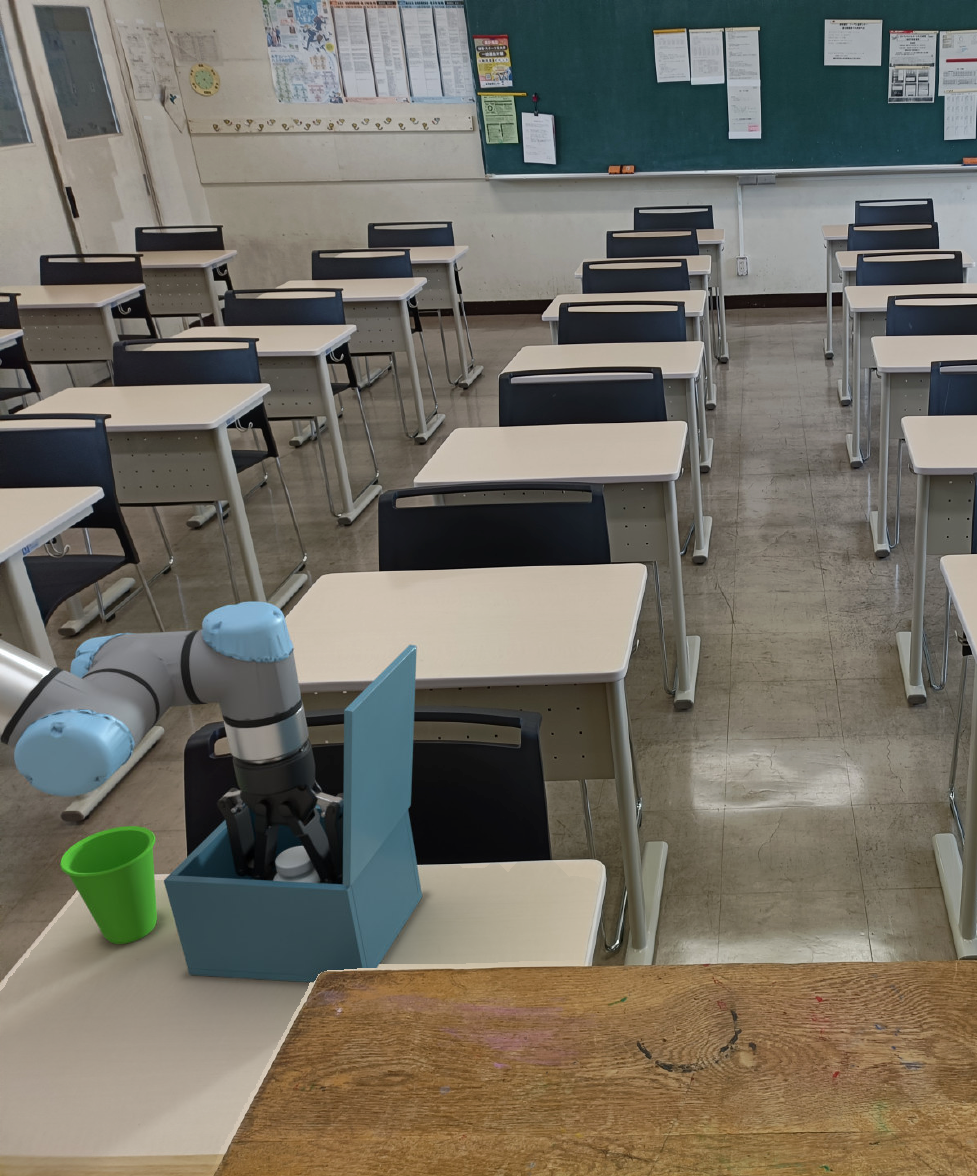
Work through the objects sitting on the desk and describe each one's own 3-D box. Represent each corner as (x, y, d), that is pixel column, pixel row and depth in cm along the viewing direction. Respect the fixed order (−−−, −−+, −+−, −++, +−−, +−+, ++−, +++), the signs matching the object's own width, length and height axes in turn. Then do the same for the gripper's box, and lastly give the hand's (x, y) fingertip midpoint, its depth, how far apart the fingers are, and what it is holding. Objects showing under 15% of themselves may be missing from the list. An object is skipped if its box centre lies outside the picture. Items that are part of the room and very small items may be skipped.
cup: (127, 964, 114) (102, 881, 110) (65, 946, 117) (39, 865, 113) (194, 913, 122) (173, 834, 118) (135, 897, 125) (113, 819, 120)
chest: (189, 975, 112) (163, 880, 108) (264, 887, 126) (244, 800, 122) (365, 985, 111) (346, 890, 106) (422, 896, 124) (408, 808, 120)
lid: (343, 709, 98) (352, 711, 98) (409, 644, 112) (417, 645, 112) (342, 885, 106) (350, 887, 106) (404, 804, 120) (410, 805, 120)
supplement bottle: (277, 945, 115) (261, 874, 112) (290, 914, 120) (275, 844, 117) (328, 940, 116) (314, 868, 112) (339, 909, 121) (325, 839, 117)
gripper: (371, 732, 112) (401, 908, 121) (209, 725, 114) (250, 899, 122) (338, 769, 105) (372, 953, 114) (165, 761, 107) (212, 943, 115)
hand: (308, 925), depth 118 cm, fingers closed on supplement bottle, 5 cm apart
